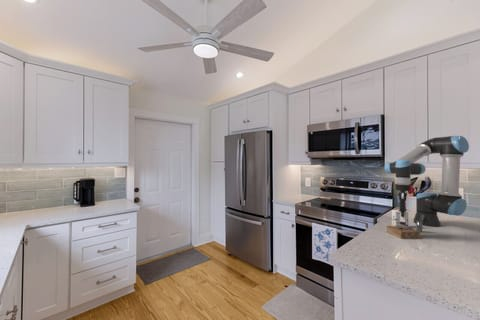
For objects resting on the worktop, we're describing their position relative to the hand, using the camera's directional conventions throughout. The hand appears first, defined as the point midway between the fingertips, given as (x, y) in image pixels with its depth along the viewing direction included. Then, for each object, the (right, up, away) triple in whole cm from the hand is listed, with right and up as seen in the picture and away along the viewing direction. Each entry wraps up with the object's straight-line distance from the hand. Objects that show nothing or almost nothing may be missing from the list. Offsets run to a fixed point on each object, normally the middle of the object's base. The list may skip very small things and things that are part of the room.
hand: (402, 221), depth 132 cm
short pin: (+16, -9, +6) cm, 19 cm away
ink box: (+11, -9, +16) cm, 22 cm away
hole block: (0, -9, 0) cm, 9 cm away
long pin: (0, -2, 0) cm, 2 cm away
